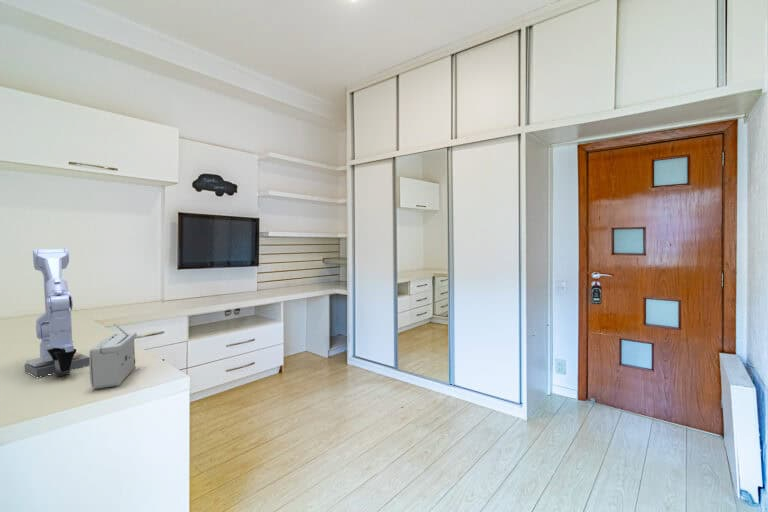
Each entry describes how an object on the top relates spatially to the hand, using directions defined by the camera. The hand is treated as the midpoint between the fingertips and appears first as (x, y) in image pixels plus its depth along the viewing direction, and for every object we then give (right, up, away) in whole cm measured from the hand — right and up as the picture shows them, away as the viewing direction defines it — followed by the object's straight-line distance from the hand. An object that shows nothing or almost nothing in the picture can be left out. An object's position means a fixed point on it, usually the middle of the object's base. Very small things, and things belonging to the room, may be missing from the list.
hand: (62, 369), depth 128 cm
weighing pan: (-8, +2, +6) cm, 11 cm away
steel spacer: (0, -1, 0) cm, 1 cm away
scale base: (-8, -2, +8) cm, 11 cm away
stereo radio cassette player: (+20, -2, -3) cm, 21 cm away
